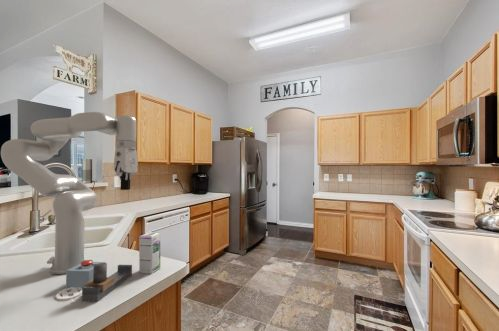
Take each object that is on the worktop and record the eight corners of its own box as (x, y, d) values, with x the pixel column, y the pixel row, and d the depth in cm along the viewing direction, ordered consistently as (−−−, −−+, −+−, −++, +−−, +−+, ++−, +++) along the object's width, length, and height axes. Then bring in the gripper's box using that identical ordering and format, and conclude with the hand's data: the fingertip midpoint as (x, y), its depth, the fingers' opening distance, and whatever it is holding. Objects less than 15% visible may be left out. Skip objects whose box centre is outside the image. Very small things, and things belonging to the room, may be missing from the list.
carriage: (84, 290, 72) (85, 267, 72) (96, 283, 77) (97, 261, 77) (103, 291, 71) (103, 268, 72) (113, 283, 76) (114, 262, 77)
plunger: (78, 274, 80) (78, 263, 80) (85, 270, 83) (86, 259, 84) (87, 274, 80) (87, 263, 80) (94, 270, 83) (94, 260, 83)
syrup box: (152, 274, 89) (152, 236, 89) (138, 272, 90) (139, 235, 91) (160, 268, 95) (161, 232, 95) (147, 267, 96) (148, 231, 96)
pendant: (81, 286, 80) (81, 284, 80) (88, 298, 72) (88, 296, 72) (54, 294, 75) (54, 291, 75) (58, 308, 67) (58, 305, 67)
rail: (81, 301, 70) (82, 287, 70) (119, 275, 88) (119, 264, 88) (97, 301, 70) (97, 288, 70) (131, 275, 88) (132, 264, 88)
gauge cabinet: (65, 288, 78) (66, 270, 78) (84, 277, 86) (84, 261, 86) (88, 289, 77) (88, 271, 77) (105, 278, 85) (105, 262, 85)
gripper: (123, 143, 89) (123, 191, 89) (144, 147, 104) (143, 188, 103) (105, 143, 90) (104, 191, 89) (128, 147, 105) (127, 188, 104)
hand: (125, 189), depth 96 cm, fingers closed
